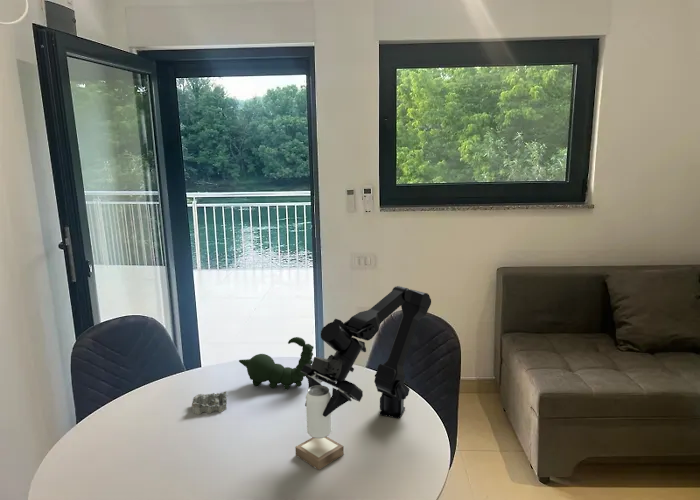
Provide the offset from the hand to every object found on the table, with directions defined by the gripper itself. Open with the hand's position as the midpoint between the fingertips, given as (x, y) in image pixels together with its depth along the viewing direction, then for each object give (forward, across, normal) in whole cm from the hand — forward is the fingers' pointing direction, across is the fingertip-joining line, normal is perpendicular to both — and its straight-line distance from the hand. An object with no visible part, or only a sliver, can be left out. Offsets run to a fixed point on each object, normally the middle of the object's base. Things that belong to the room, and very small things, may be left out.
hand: (315, 411), depth 131 cm
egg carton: (+14, -43, +5) cm, 46 cm away
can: (+4, 0, +6) cm, 7 cm away
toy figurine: (-3, -40, +22) cm, 46 cm away
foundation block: (+8, 0, +10) cm, 13 cm away
